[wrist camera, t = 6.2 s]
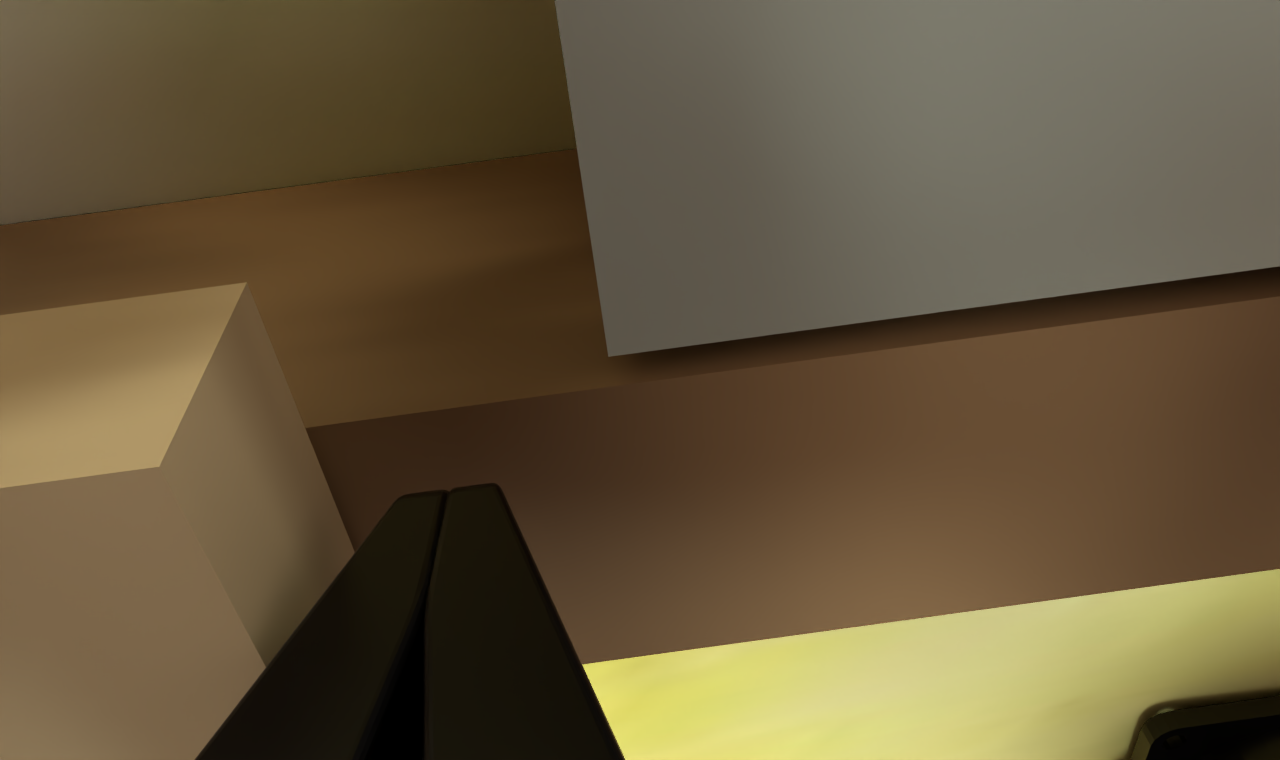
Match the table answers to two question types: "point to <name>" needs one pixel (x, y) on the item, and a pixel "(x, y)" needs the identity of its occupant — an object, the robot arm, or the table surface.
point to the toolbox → (721, 411)
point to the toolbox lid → (913, 155)
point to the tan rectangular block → (149, 523)
